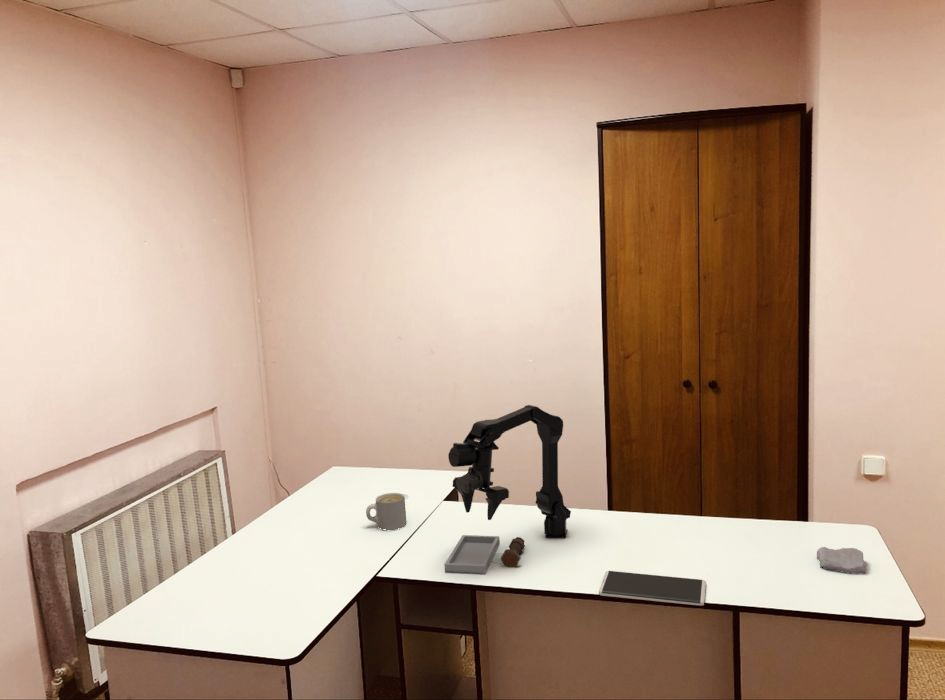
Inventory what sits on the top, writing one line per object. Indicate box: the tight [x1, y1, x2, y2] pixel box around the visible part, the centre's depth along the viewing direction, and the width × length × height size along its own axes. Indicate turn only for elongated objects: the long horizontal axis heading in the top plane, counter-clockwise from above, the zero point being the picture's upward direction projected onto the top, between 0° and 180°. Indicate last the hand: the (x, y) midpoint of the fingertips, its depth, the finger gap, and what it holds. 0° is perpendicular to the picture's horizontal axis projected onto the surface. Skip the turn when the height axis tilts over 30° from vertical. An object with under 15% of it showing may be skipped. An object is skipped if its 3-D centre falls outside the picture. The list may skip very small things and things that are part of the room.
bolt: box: [500, 536, 526, 568], centre depth 225 cm, size 6×5×15 cm
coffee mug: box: [365, 492, 407, 531], centre depth 256 cm, size 13×10×10 cm
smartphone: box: [598, 570, 707, 606], centre depth 200 cm, size 13×27×2 cm, turn 71°
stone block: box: [816, 546, 867, 574], centre depth 206 cm, size 12×5×10 cm
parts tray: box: [444, 534, 501, 575], centre depth 226 cm, size 12×22×2 cm, turn 167°
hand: (478, 516), depth 222 cm, fingers open, 9 cm apart
